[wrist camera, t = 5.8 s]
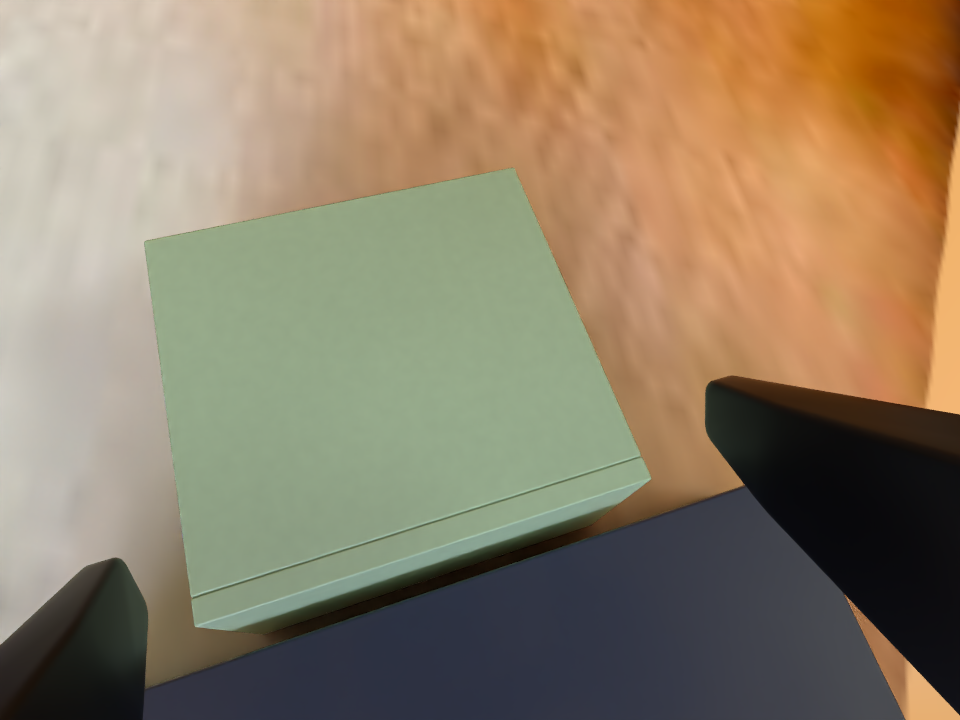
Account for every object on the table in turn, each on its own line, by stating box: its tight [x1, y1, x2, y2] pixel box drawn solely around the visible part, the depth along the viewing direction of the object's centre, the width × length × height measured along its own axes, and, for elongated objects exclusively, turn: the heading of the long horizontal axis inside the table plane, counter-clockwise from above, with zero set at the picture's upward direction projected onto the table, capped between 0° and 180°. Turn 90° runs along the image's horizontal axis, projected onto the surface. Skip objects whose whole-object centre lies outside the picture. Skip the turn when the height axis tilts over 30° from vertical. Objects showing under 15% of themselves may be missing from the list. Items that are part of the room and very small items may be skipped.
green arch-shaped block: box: [144, 168, 651, 635], centre depth 18 cm, size 6×11×10 cm
